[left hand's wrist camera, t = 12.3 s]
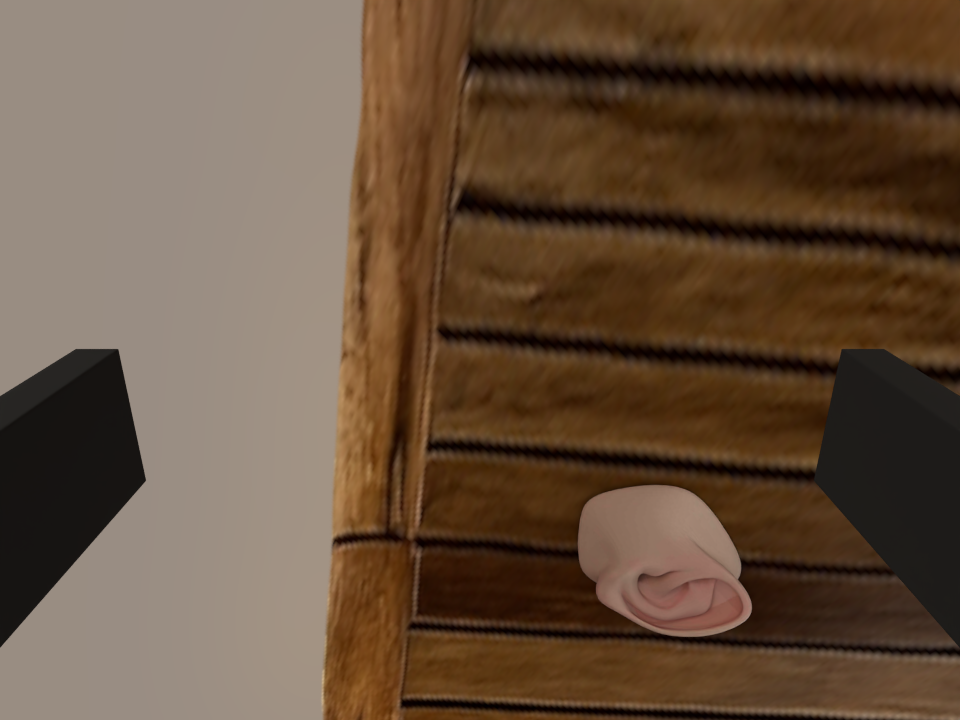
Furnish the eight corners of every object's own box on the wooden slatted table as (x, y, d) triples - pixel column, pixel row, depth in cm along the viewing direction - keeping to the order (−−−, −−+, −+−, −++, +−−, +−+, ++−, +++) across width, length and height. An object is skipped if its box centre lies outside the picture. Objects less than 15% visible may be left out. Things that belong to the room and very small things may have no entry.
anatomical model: (559, 543, 47) (716, 483, 45) (553, 511, 51) (698, 454, 49) (625, 674, 51) (771, 624, 49) (615, 635, 55) (750, 587, 53)
